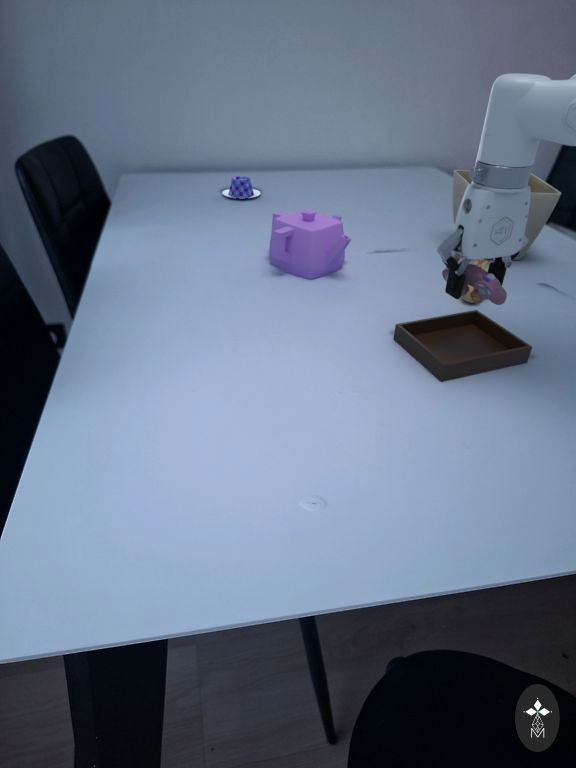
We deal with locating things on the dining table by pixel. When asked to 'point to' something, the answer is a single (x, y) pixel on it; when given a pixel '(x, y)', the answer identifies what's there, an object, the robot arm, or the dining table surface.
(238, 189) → the pudding
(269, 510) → the dining table surface
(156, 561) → the dining table surface
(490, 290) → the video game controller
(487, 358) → the tray
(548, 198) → the flower pot
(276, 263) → the teakettle
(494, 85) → the robot arm
